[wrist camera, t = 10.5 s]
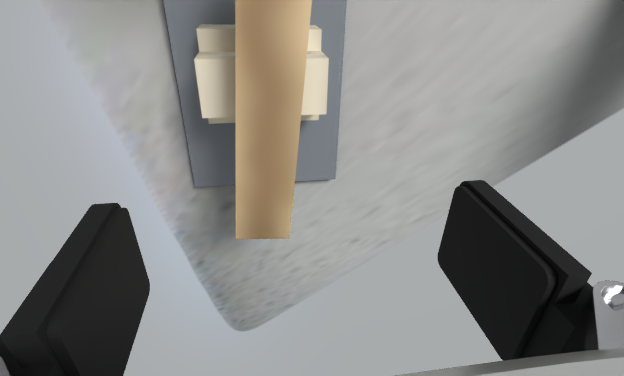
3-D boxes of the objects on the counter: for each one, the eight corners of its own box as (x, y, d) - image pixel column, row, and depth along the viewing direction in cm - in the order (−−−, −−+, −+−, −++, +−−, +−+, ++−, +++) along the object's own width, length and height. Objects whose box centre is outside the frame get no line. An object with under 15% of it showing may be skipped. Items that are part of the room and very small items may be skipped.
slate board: (348, -87, 26) (352, -90, 25) (332, 173, 37) (335, 179, 36) (150, -98, 24) (146, -101, 23) (196, 181, 35) (194, 187, 34)
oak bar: (308, -81, 20) (320, -94, 17) (284, 209, 30) (289, 238, 27) (237, -93, 20) (235, -108, 16) (236, 209, 29) (235, 239, 26)
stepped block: (315, 25, 29) (329, 34, 24) (313, 108, 32) (325, 133, 27) (200, 24, 27) (190, 34, 22) (211, 111, 31) (205, 137, 26)
